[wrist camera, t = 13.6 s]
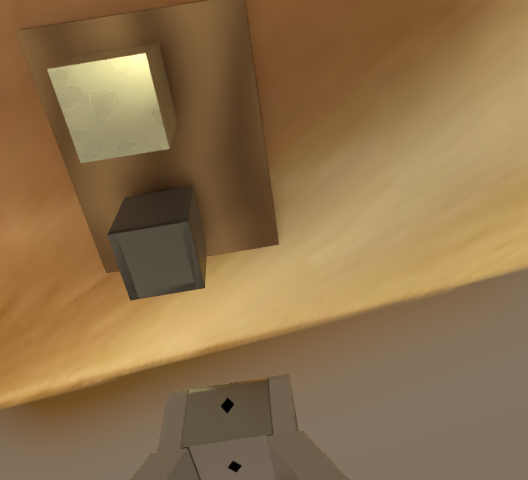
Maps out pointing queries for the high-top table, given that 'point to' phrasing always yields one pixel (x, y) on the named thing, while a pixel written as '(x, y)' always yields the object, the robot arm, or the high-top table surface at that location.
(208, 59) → the walnut board
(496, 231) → the high-top table surface
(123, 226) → the dark grey paneled cube
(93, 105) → the pale green block
